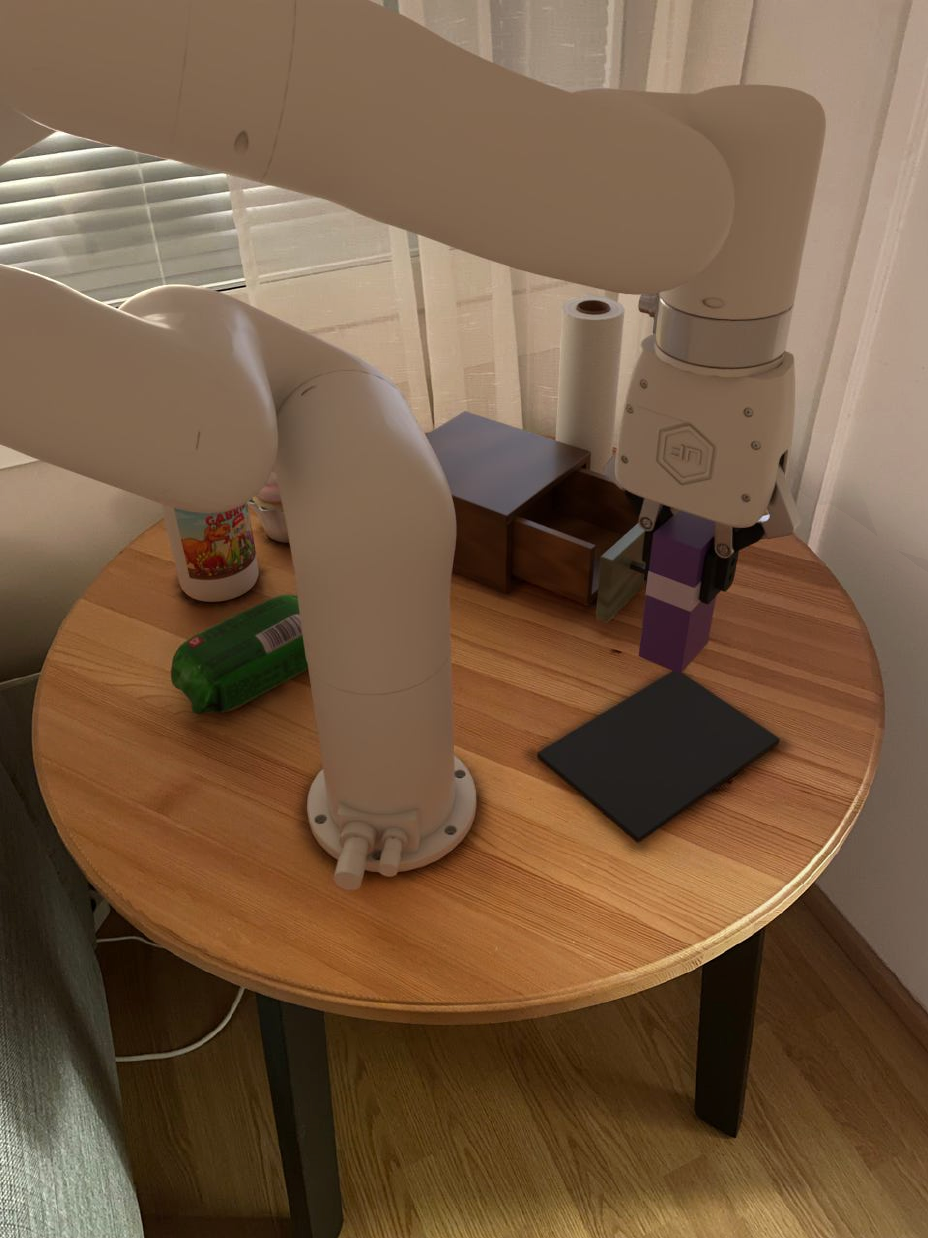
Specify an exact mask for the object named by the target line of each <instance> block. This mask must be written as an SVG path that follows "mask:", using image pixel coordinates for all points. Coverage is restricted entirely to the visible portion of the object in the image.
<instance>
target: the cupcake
mask: <svg viewBox="0 0 928 1238" xmlns="http://www.w3.org/2000/svg"><path fill="white" fill-rule="evenodd" d="M247 504H248V507H250V509H251V510H252V511H253V512H254V513H255V514H256V515H257V518H258V520H259V523H260V524H261V526H262V528H263V531H264V533H265V534H266V535H267V536H268V537H269V538H270V539H271V540H272V541H273V540H274V541H276V542H279V543H283V544H290V543H289V537H288V531H287V525H286V520H285V515H284V510H283V505H282V501H281V497H280V493H279V489H278V484H277V476H276V473H274V472H272V473H271V475H270V477H269V479H268V481H267V483H266V484H265V486H264V487H263V488H262V490H261V491H260V492H259V493H258V494H257V495H256V496H255V497H254V498H252V499H251V500H250V501H248V502H247Z"/></svg>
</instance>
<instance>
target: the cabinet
mask: <svg viewBox="0 0 928 1238" xmlns="http://www.w3.org/2000/svg"><path fill="white" fill-rule="evenodd" d="M425 435H426V437H427V439H428V441H429V443H430V445H431V446H432V448H433V450H434V452H435V454H436V456H437V458H438V460H439V463H440V465H441V467H442V469H443V472H444V474H445V477H446V479H447V482H448V485H449V488H450V491H451V495H452V499H453V503H454V508H455V515H456V545H455V553H454V560H453V567H452V573H453V572H454V573H456V574H458V575H461V576H463V577H465V578H468V579H470V580H472V581H475V582H478V583H480V584H482V585H484V586H487V587H488V588H491V589H494V590H496V591H499V592H501V593H503V594H507V593H508V592H510V591H511V590H512V589H513V588H514V587H516V586H517V585H518V584H520V582H522V581H523V579H521V578H518V577H516V576H514V575H511V550H512V519H514V518H515V517H516V516H518V515H519V514H520V513H522V512H523V511H524V510H525V509H527V508H528V507H529V506H531V505H532V504H533V503H535V502H536V501H537V500H538V499H540V498H541V497H542V496H544V495H545V494H546V493H548V492H549V491H550V490H551V489H553V488H554V487H555V486H557V485H558V484H559V483H561V482H562V481H563V480H564V479H566V478H567V477H568V476H570V475H571V474H572V473H574V472H575V471H576V470H577V469H579V468H580V467H582V468H585V469H588V470H590V464H591V460H590V459H591V452H590V451H587V450H584V449H581V448H578V447H575V446H572V445H568V444H565V443H562V442H559V441H556V439H553V438H550V437H547V436H543V435H542V434H541V435H540V434H538V433H534V432H531V431H528V430H526V429H522V428H519V427H515V426H513V425H509V424H506V423H503V422H500V421H497V420H495V419H491V418H489V417H485V416H483V415H479V414H476V413H473V412H469V411H466V410H464V411H463V412H461V413H460V414H457V415H456V416H454V417H453V418H451V419H450V420H448V421H447V422H445V423H443V424H442V425H440V426H438V427H436V428H435V429H433V430H432V431H430V432H428V433H427V434H425Z"/></svg>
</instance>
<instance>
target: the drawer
mask: <svg viewBox="0 0 928 1238" xmlns="http://www.w3.org/2000/svg"><path fill="white" fill-rule="evenodd" d="M677 511H679V510H677V509H674V508H673V511H672V513H673V514H675V513H676V512H677ZM638 520H639V515H638V514H637V512H636V511H635V509H634V508H633V506H632V505H631V504H630V502H629V501H628V499H627V498H626V496H625V491H624V490H623V489H622V490H621V489H620V488H619V487H618V486H617V485H616V484H615V483H614V482H613V481H611V480H610V479H609V478H608V477H607V476H606V475H603V474H600V473H597V472H594V471H591V470H588V469H585V468H582V467H580V468H579V469H577V470H576V471H575V472H574V473H572V474H571V475H570V476H568V477H567V478H566V479H564V480H563V481H562V482H561V483H559V484H558V485H557V486H555V487H554V488H553V489H551V490H550V491H549V492H548V493H546V494H545V495H544V496H542V497H541V498H540V499H538V500H537V501H536V502H535V503H533V504H532V505H531V506H529V507H528V508H527V509H525V510H524V511H523V512H522V513H520V514H519V515H518V516H516V517H515V518H514V519H512V550H511V575H514V576H516V577H518V578H521V579H523V580H524V581H526V582H527V583H531V584H534V585H536V586H538V587H541V588H542V589H545V590H548V591H551V592H552V593H555V594H557V595H560V596H562V597H564V598H567V599H569V600H572V601H574V602H576V603H579V604H581V605H585V606H588V605H590V604H591V602H593V600H595V599H596V609H595V619H596V620H599V621H601V622H603V623H606V624H608V622H610V620H611V619H612V618H613V617H615V616H616V615H617V613H618V612H620V611H621V610H622V608H624V607H625V606H626V605H627V604H628V603H629V602H631V600H632V599H633V598H634V597H635V596H636V595H637V594H638V593H639V592H640V591H641V590H642V589H643V588H644V587H645V586H647V581H644V573H645V564H646V562H643V561H642V552H643V543H644V534H645V531H644V530H643V529H642V528H641V527H640V526H639V523H638ZM523 580H522V581H523Z"/></svg>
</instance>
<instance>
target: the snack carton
mask: <svg viewBox="0 0 928 1238" xmlns="http://www.w3.org/2000/svg"><path fill="white" fill-rule="evenodd" d="M713 545H714V521H710V520H707V519H704V518H701V517H698V516H695V515H692V514H689V513H686V512H683V511H680V510H679V511H677V512H676V513H675V514H674V515H673V516H672V517H671V518H670V519H669V520H668V521H666V522H665V523H664V524H663V525H662V526H661V527H660V528H659V529H658V530H657V531H656V532H654V534H653V542H652V550H651V558H650V566H649V571H648V578H647V584H646V589H645V597H644V607H643V615H642V622H641V623H642V625H641V630H640V631H641V632H640V640H639V641H640V642H639V647H638V648H639V649H638V657H639V658H640V659H643V660H646V661H648V662H651V663H653V664H655V665H658V666H661V667H662V668H664V669H667V670H669V671H671V672H672V671H674V672H676V673H679V674H681V673H683V672H684V671H685V670H686V669H687V668H688V667H689V665H690V664H691V663H692V662H693V661H694V660H695V659H696V657H698V655H699V654H700V653H701V652H702V651H703V649H705V648H706V646H707V645H708V643H709V641H710V640H709V639H710V634H711V630H712V629H711V628H712V623H713V618H714V612H715V606H716V601H717V600H716V599H717V596H716V597H715V598H714V599H713V600H712V601H711V602H710V603H709V604H708V605H707V604H705V603H702V602H700V599H699V594H700V588H701V579H702V572H703V566H704V559H705V556H706V554H707V553H708V551H709V550H710V549H711V548H712V547H713Z"/></svg>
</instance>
